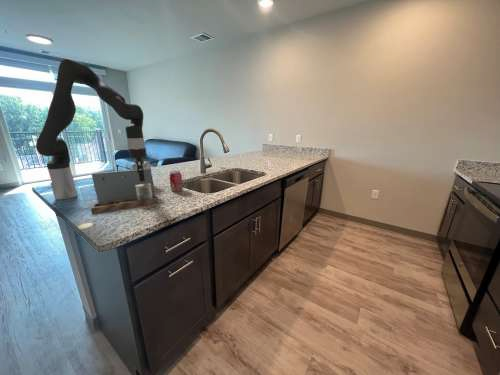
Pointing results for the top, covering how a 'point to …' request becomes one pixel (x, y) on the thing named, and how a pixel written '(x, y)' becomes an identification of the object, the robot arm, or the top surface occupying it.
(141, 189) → the picture frame
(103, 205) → the notched ledge
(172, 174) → the soda can
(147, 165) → the candy bar box
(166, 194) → the top surface
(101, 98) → the robot arm
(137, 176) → the wall panel
